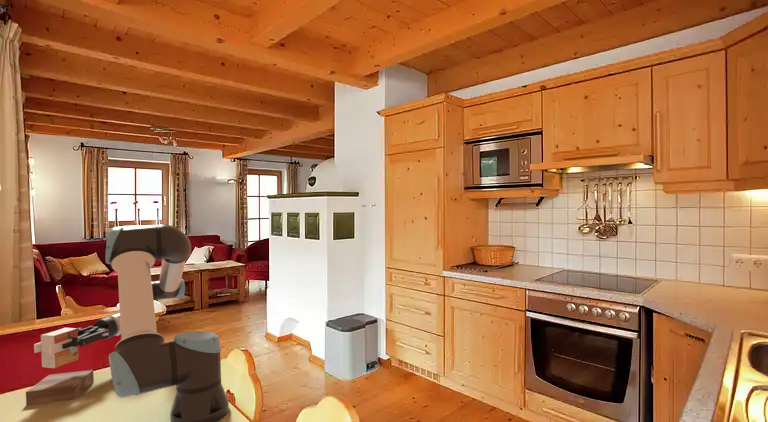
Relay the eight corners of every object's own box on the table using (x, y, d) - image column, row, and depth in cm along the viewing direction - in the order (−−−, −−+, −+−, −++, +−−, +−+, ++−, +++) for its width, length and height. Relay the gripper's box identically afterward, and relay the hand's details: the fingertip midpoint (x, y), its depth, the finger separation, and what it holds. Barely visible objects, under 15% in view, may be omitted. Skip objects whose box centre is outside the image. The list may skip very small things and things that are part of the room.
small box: (54, 369, 129) (53, 335, 128) (41, 367, 130) (39, 334, 130) (79, 359, 136) (78, 327, 136) (66, 358, 138) (65, 327, 137)
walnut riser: (75, 398, 128) (74, 386, 128) (26, 404, 125) (25, 391, 125) (93, 381, 141) (93, 369, 141) (49, 386, 138) (49, 374, 138)
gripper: (131, 338, 148) (65, 363, 125) (91, 335, 153) (21, 358, 130) (130, 317, 147) (64, 339, 125) (90, 315, 153) (20, 335, 130)
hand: (42, 349), depth 128 cm, fingers closed on small box, 6 cm apart
